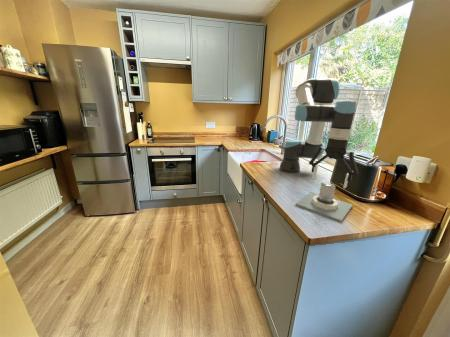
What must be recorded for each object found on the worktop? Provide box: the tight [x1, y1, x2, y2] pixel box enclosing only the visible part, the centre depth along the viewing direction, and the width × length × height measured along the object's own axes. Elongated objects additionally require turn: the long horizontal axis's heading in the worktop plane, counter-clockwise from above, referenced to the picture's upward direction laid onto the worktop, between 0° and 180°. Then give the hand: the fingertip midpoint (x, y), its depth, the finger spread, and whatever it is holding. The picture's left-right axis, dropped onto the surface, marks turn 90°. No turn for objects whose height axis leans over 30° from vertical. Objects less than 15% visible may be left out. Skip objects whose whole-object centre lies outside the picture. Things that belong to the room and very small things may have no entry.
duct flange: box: [295, 191, 354, 223], centre depth 92 cm, size 20×20×3 cm
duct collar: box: [318, 182, 337, 204], centre depth 90 cm, size 6×6×10 cm
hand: (328, 183), depth 89 cm, fingers open, 13 cm apart
